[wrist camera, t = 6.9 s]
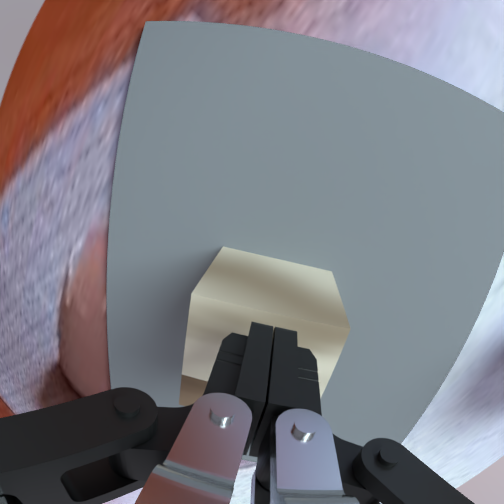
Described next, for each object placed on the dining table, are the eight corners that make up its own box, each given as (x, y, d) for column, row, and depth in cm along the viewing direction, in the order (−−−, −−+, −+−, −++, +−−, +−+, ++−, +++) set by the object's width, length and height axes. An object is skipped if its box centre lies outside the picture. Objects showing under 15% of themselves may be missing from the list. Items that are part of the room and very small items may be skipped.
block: (191, 293, 12) (178, 404, 13) (350, 328, 11) (304, 431, 13) (222, 246, 17) (207, 338, 19) (332, 271, 17) (302, 359, 19)
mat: (149, 24, 14) (145, 21, 14) (526, 129, 13) (530, 129, 13) (117, 418, 24) (115, 421, 23) (376, 469, 23) (376, 473, 22)
